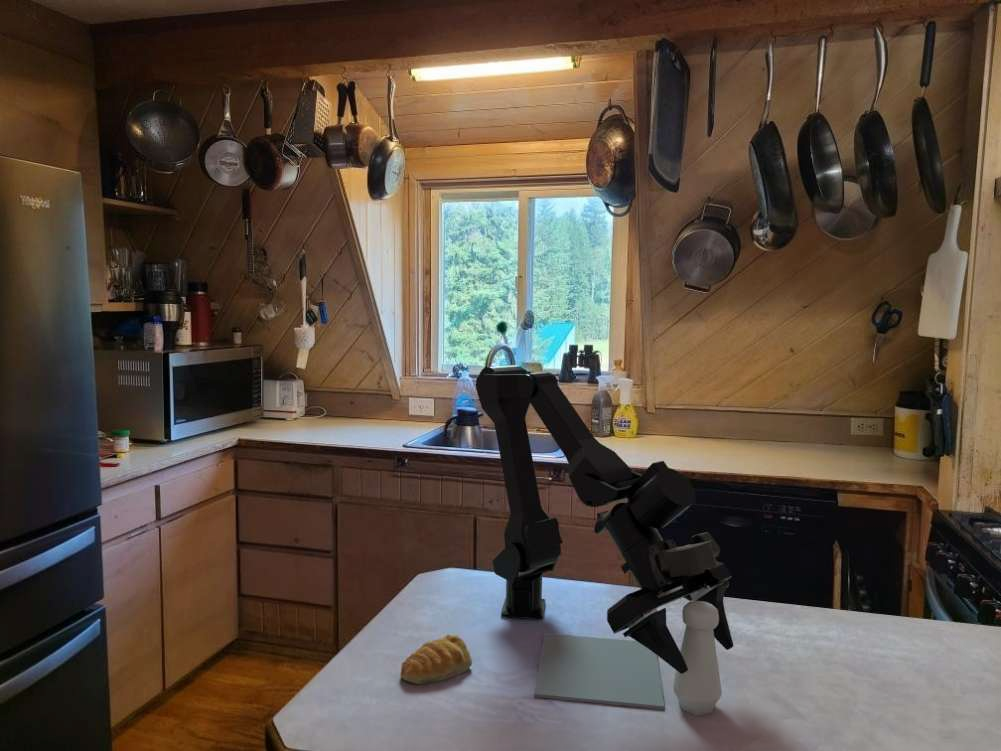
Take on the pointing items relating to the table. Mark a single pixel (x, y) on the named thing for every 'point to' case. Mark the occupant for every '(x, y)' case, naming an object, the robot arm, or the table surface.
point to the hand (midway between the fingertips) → (708, 659)
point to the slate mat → (598, 671)
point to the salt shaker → (699, 660)
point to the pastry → (437, 661)
